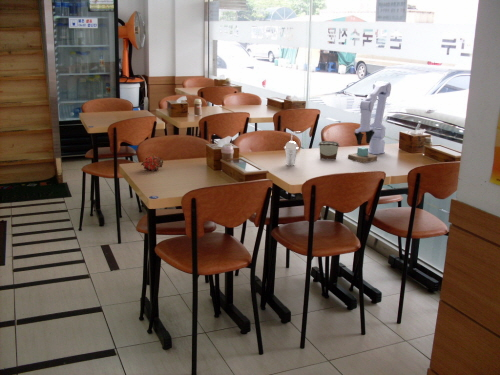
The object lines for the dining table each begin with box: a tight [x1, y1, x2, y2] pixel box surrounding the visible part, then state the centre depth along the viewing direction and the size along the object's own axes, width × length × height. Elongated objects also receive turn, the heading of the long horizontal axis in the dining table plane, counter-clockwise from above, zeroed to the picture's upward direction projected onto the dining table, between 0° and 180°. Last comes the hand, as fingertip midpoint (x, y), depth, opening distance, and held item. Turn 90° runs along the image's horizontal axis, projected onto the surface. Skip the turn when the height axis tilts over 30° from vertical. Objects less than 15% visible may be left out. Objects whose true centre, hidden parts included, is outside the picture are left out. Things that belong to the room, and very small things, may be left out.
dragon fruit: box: [140, 155, 164, 172], centre depth 288 cm, size 8×8×12 cm
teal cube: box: [357, 146, 369, 157], centre depth 322 cm, size 4×4×4 cm
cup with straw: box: [283, 130, 302, 166], centre depth 303 cm, size 8×9×20 cm
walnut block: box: [347, 153, 378, 164], centre depth 323 cm, size 12×12×3 cm
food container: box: [318, 140, 340, 161], centre depth 323 cm, size 12×6×10 cm, turn 84°
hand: (363, 143), depth 321 cm, fingers open, 7 cm apart
